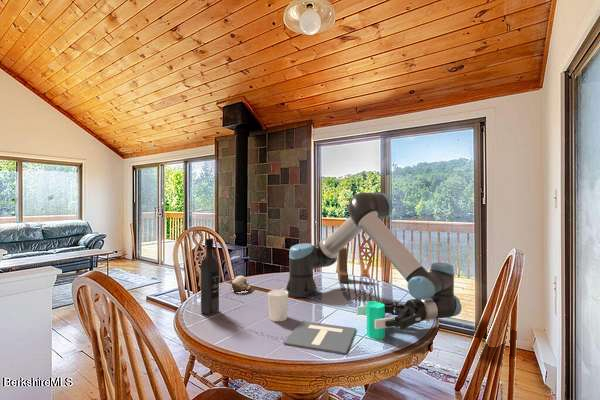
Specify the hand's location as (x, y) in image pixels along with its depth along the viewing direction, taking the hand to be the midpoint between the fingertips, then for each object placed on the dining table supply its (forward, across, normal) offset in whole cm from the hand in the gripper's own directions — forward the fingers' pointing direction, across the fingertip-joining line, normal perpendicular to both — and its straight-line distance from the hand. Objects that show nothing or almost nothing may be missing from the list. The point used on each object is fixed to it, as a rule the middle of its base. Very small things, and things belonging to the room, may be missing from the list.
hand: (365, 317), depth 102 cm
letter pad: (+14, +5, -6) cm, 16 cm away
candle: (-4, 0, -7) cm, 8 cm away
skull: (+33, +65, -7) cm, 74 cm away
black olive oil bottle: (+49, +40, -7) cm, 63 cm away
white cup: (+24, +25, -7) cm, 35 cm away
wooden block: (-23, +66, -7) cm, 70 cm away
